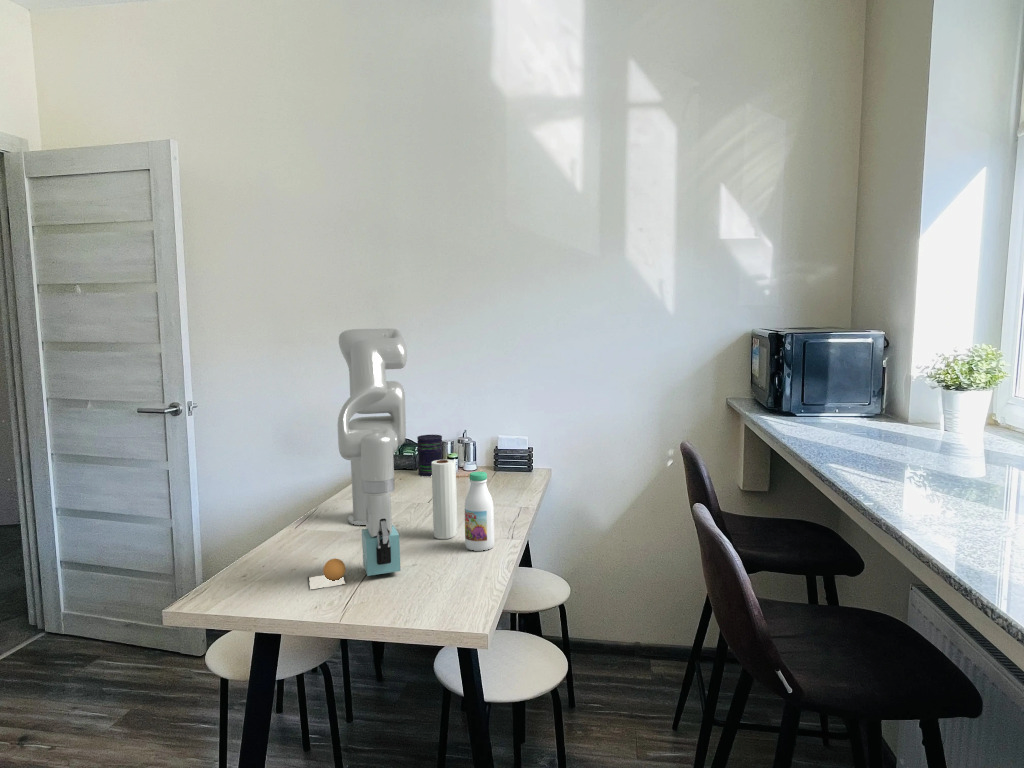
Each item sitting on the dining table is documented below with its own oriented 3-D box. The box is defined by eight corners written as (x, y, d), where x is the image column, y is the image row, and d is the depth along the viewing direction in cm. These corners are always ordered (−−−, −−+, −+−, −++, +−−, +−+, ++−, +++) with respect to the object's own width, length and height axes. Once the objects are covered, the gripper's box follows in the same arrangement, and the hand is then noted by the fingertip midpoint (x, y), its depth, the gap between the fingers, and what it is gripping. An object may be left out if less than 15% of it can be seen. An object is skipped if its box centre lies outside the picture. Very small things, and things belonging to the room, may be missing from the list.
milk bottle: (478, 540, 178) (477, 468, 177) (500, 545, 174) (498, 472, 172) (459, 547, 173) (457, 473, 171) (480, 554, 168) (479, 477, 166)
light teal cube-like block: (363, 564, 159) (361, 529, 158) (394, 559, 161) (393, 525, 160) (367, 575, 151) (366, 539, 150) (400, 570, 154) (399, 534, 153)
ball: (332, 551, 154) (348, 563, 156) (317, 568, 153) (334, 580, 155) (334, 558, 150) (351, 570, 151) (319, 576, 149) (336, 588, 150)
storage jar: (413, 476, 254) (412, 438, 252) (424, 470, 263) (423, 434, 262) (437, 477, 251) (435, 439, 249) (447, 471, 260) (446, 435, 258)
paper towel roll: (435, 540, 178) (433, 464, 176) (432, 534, 184) (429, 459, 182) (461, 538, 180) (459, 462, 178) (457, 531, 186) (455, 457, 184)
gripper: (357, 479, 161) (360, 548, 163) (367, 496, 145) (370, 572, 147) (388, 476, 164) (390, 543, 165) (401, 493, 147) (403, 568, 149)
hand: (381, 557), depth 156 cm, fingers closed on light teal cube-like block, 7 cm apart
